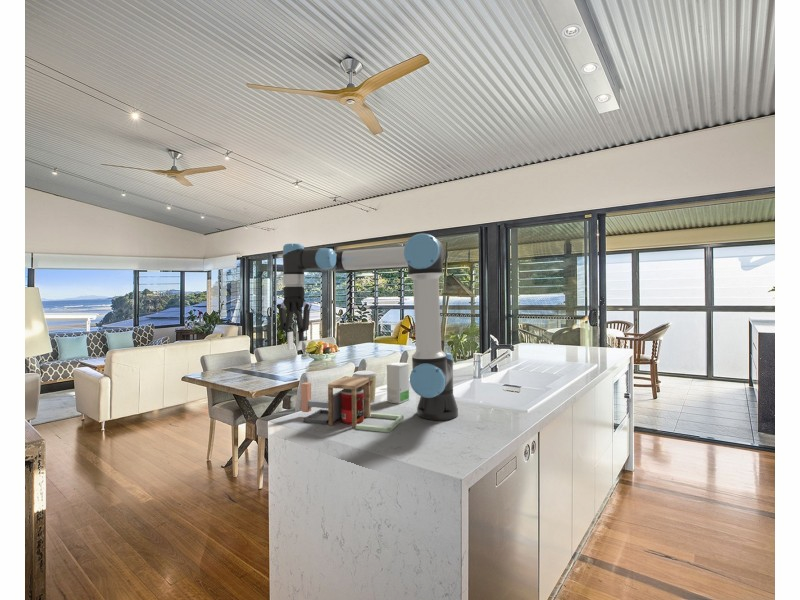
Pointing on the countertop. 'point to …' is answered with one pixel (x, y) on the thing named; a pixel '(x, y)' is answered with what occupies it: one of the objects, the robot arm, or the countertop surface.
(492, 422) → the countertop surface
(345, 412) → the canned food
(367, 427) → the bay
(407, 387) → the skincare box
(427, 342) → the robot arm
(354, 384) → the tunnel
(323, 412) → the tray
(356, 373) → the coffee cup
